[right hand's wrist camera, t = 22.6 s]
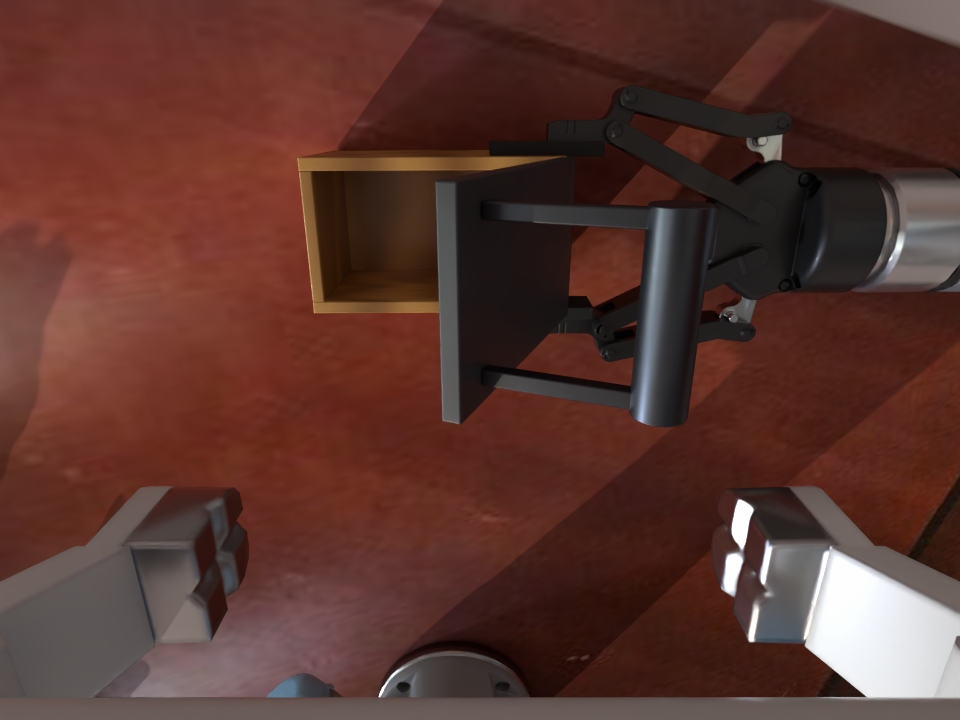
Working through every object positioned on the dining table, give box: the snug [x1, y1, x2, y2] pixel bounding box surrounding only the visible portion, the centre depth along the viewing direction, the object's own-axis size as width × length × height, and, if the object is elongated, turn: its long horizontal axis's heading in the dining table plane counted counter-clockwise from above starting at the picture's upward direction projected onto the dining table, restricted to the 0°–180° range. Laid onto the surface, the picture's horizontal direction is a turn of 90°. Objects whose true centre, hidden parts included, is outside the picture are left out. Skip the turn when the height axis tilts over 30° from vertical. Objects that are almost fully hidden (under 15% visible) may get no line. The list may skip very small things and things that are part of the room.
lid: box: [435, 157, 716, 427], centre depth 27 cm, size 16×9×9 cm
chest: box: [298, 150, 567, 313], centre depth 40 cm, size 15×9×9 cm, turn 90°
